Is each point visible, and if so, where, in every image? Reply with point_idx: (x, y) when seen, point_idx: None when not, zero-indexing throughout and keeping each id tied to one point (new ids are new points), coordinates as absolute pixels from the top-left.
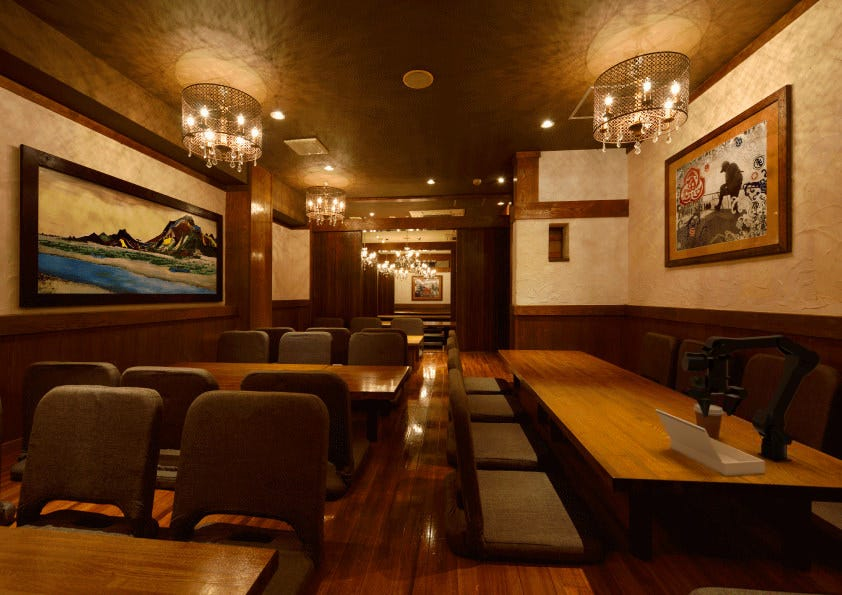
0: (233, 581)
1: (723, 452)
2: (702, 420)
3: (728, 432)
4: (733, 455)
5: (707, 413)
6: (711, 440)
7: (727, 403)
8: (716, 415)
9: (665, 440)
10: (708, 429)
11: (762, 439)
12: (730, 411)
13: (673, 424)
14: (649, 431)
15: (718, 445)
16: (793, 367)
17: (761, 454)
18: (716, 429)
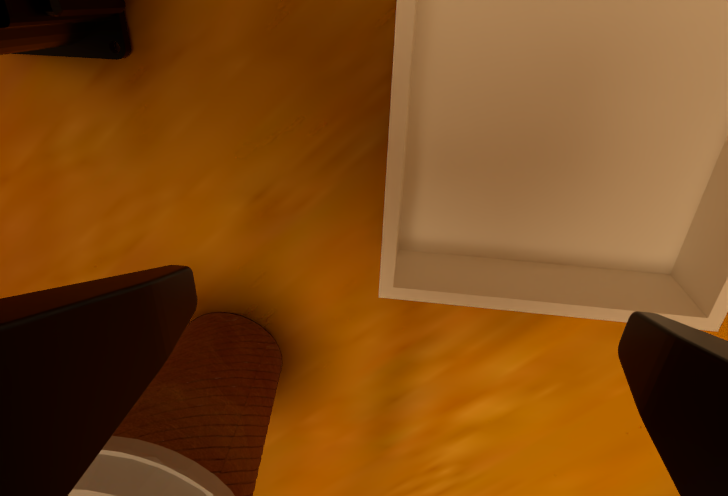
0: None
1: (411, 91)
2: (250, 445)
3: None
4: None
5: (706, 340)
6: (398, 223)
7: (45, 485)
8: (143, 442)
9: (560, 376)
10: (244, 372)
11: (13, 14)
12: (137, 305)
13: None
14: (514, 483)
15: (404, 151)
16: None
17: (123, 3)
18: (192, 355)
